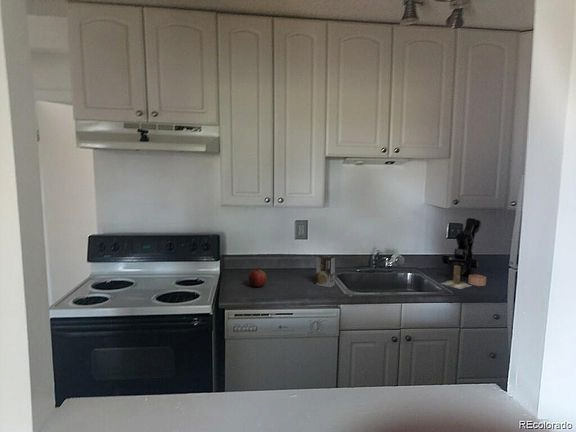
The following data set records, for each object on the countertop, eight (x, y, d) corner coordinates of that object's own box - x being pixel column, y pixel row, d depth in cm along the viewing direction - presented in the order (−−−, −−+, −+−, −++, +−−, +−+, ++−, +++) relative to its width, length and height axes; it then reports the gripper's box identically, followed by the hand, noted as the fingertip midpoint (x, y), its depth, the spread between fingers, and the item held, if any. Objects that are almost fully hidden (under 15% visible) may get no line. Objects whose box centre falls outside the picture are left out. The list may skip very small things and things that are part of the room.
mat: (440, 284, 222) (440, 283, 222) (452, 281, 229) (452, 280, 228) (460, 289, 212) (460, 288, 212) (471, 286, 219) (472, 285, 219)
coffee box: (335, 284, 215) (336, 256, 213) (330, 287, 210) (331, 258, 208) (320, 282, 220) (321, 254, 218) (315, 285, 214) (316, 256, 212)
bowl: (465, 283, 225) (465, 275, 224) (473, 281, 230) (474, 273, 229) (480, 287, 217) (480, 279, 217) (488, 284, 222) (489, 277, 222)
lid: (443, 284, 219) (444, 266, 217) (447, 280, 228) (449, 262, 227) (465, 288, 212) (466, 269, 211) (469, 284, 222) (470, 265, 220)
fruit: (249, 283, 215) (249, 265, 214) (267, 283, 214) (267, 266, 213) (246, 289, 204) (246, 270, 203) (265, 289, 204) (265, 271, 202)
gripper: (443, 241, 226) (437, 263, 218) (478, 245, 215) (473, 268, 208) (445, 252, 233) (440, 273, 226) (479, 256, 223) (474, 279, 215)
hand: (456, 273), depth 218 cm, fingers open, 5 cm apart
